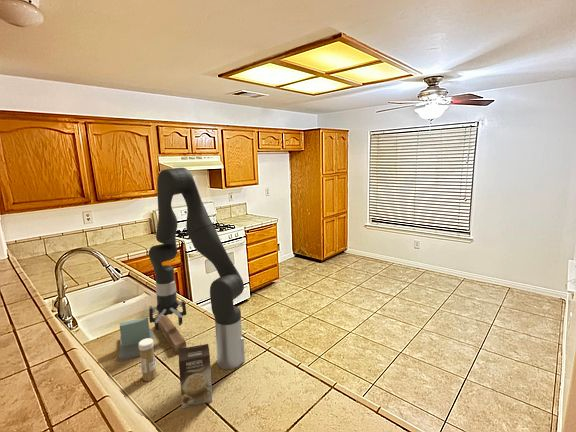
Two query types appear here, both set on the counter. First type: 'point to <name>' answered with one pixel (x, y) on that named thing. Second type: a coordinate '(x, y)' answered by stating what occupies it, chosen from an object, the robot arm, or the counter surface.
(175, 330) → the walnut bar
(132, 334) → the ridge stand
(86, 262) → the counter surface
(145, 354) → the sprinkles bottle
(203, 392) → the coffee box
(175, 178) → the robot arm
